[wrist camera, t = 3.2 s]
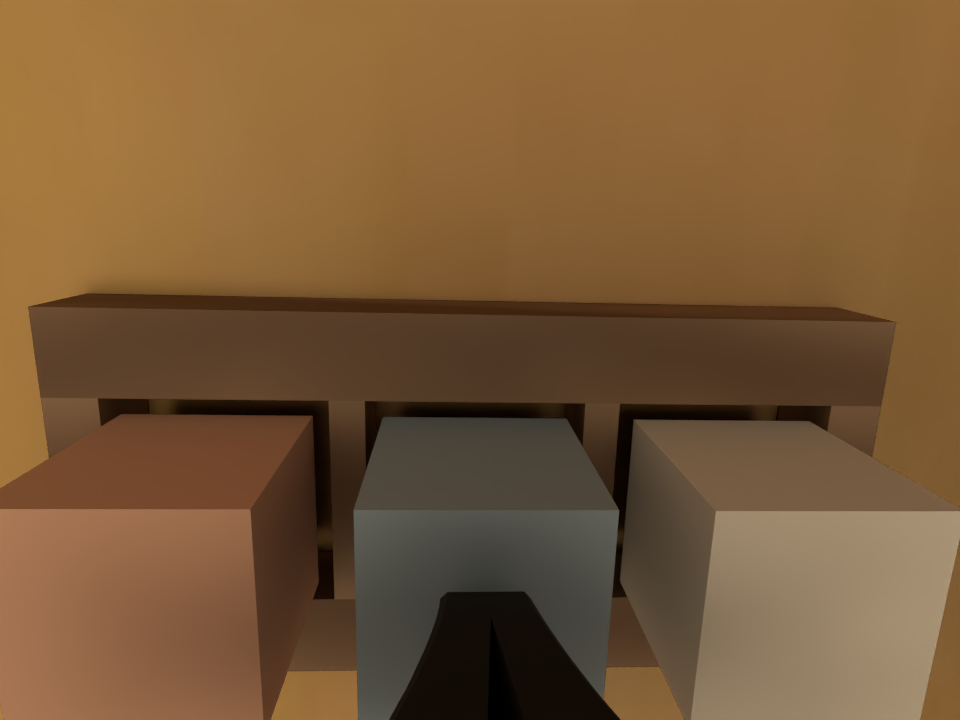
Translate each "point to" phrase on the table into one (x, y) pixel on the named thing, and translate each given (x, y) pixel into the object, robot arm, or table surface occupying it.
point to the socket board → (450, 384)
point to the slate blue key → (477, 540)
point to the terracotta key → (159, 570)
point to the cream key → (783, 571)
